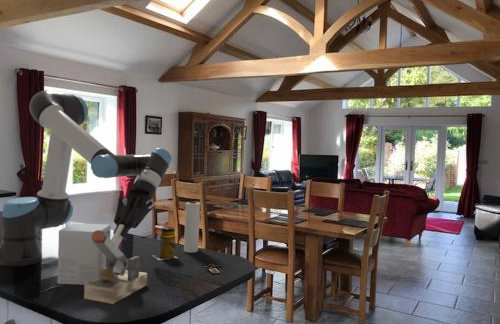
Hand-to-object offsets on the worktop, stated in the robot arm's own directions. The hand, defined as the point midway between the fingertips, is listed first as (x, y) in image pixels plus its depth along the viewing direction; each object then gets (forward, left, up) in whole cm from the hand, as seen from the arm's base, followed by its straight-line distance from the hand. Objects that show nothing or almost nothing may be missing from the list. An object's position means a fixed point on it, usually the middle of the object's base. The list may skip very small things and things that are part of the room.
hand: (113, 244), depth 130 cm
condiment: (+9, +43, -15) cm, 47 cm away
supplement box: (-13, +13, -15) cm, 24 cm away
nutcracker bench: (+1, +2, -15) cm, 15 cm away
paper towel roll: (+19, +54, -15) cm, 60 cm away
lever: (+2, +4, -8) cm, 10 cm away
